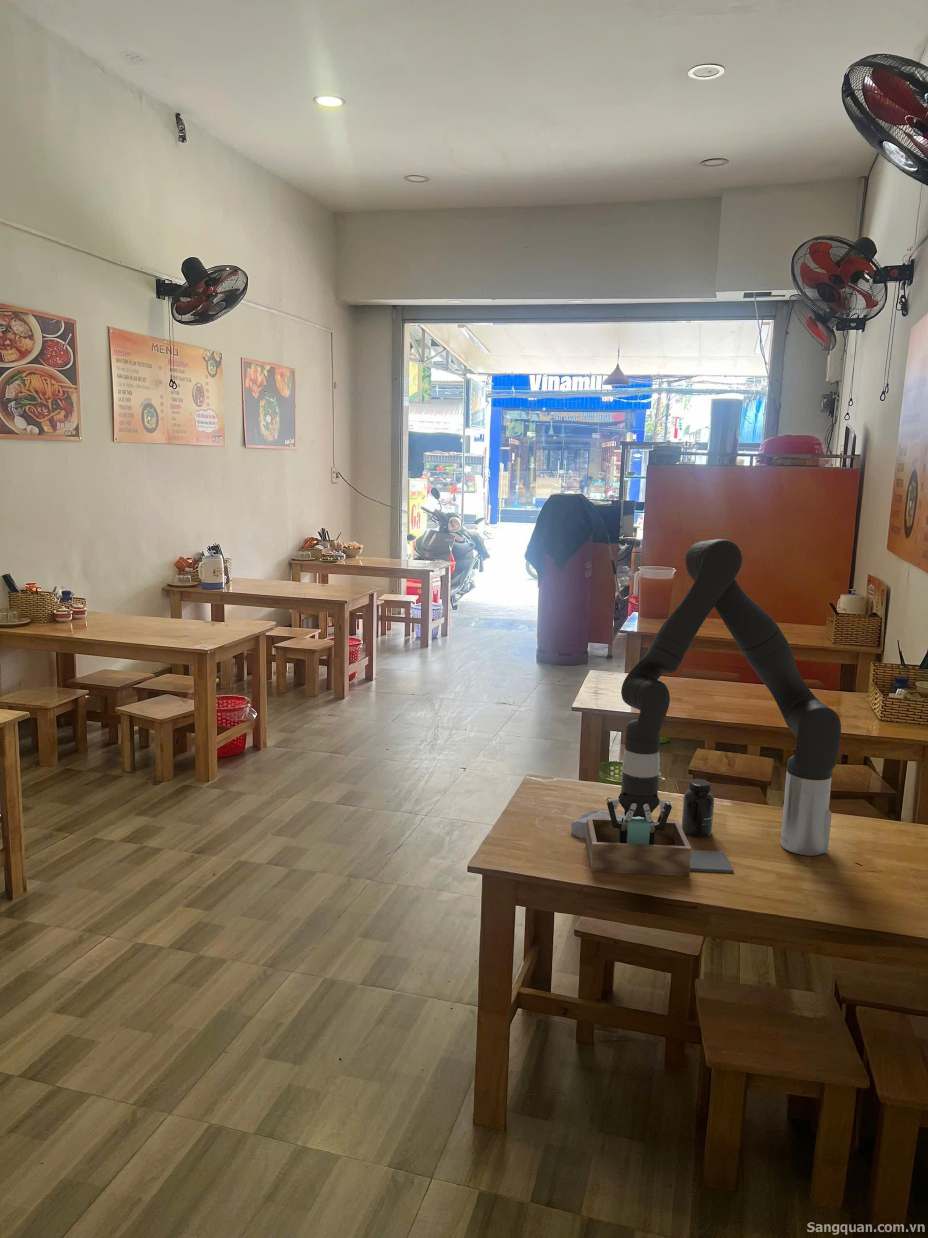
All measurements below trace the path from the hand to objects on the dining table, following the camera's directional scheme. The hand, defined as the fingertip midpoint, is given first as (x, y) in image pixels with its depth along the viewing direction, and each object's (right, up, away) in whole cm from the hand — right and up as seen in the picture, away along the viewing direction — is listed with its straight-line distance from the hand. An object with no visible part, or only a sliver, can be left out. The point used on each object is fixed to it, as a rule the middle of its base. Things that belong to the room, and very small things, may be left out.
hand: (636, 846), depth 186 cm
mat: (+15, -3, 0) cm, 15 cm away
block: (0, -1, 0) cm, 1 cm away
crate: (0, -3, 0) cm, 3 cm away
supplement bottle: (+17, -1, +15) cm, 23 cm away
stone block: (-6, -1, +15) cm, 16 cm away
